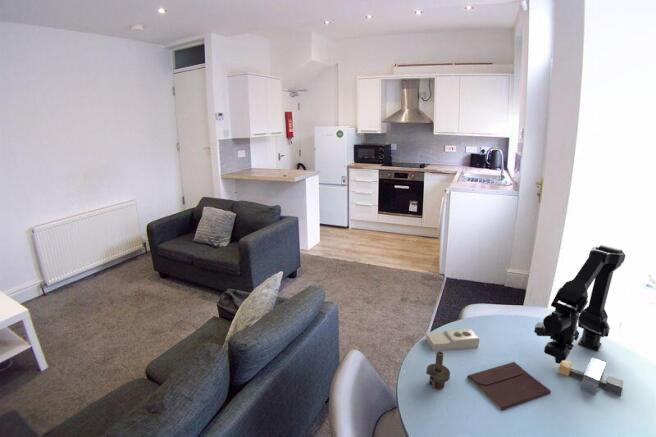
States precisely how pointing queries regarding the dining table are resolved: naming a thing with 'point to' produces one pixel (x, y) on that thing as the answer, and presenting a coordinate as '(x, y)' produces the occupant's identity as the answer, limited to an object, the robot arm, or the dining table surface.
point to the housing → (593, 375)
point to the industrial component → (438, 372)
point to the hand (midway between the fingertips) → (557, 362)
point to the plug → (609, 385)
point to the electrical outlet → (452, 339)
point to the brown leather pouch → (508, 385)
